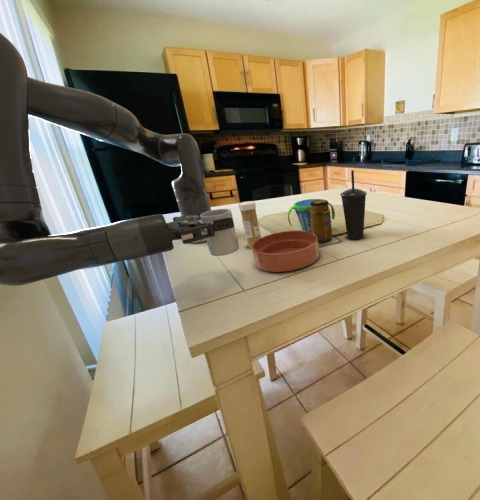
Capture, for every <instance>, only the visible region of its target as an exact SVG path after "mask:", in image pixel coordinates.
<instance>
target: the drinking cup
mask: <svg viewBox="0 0 480 500" xmlns="http://www.w3.org/2000/svg"><path fill="white" fill-rule="evenodd" d="M350 174H351V188H349V189H346V190H344V191H343V192H340V194H339V195H340V197H341V203H342V209H343V210H342V211H343V215H344V216H343V217H344V222H345V228H346V236H347V239H348V240H350V241H358V240H362V239H364V233H365V231H364V230H365V216H366V215H365V214H366V197H367V194H368V193H367V191H365V190H362V189H360V188H355V171H354V170H351V171H350Z"/></svg>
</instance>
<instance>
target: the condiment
mask: <svg viewBox="0 0 480 500" xmlns="http://www.w3.org/2000/svg"><path fill="white" fill-rule="evenodd" d="M328 202H329V200H327V199H323V200H314V201H312V202H311V211H310V217H311V227H312V233H314V234H315V235H316V236H317V237H318V245H319V247H322V246H327V245H332V244H335V243H339V242H340V240H339V239H338V238H336V237H334V236H332V235H333V230H332V227H333V226H332V220H331V219H332V214H331V210H330V205H329V204H328Z"/></svg>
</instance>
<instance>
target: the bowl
mask: <svg viewBox="0 0 480 500" xmlns="http://www.w3.org/2000/svg"><path fill="white" fill-rule="evenodd" d="M250 249H251V252H252V258H253V262H254V265H255V267H257V268H258V269H259V270H263V271H266V272H275V273H280V272H281V273H282V272H292V271H295V270H299V269H302V268H305V267H307V266H310V265H311V264H313V263H314V262H315V261H317V260H318V259H319V257H320V246H319V245H318V237H317V236H316V235H315V234H314V233H311V232H307V231H302V230H286V231H285V230H284V231H279V232H278V231H277V232H273V233H269V234H267V235H264V236H261V238H259V239H258V240H256V241H255V242H253V244H252V246H251V248H250Z"/></svg>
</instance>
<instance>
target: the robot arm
mask: <svg viewBox="0 0 480 500" xmlns="http://www.w3.org/2000/svg"><path fill="white" fill-rule="evenodd" d="M30 117H33V118H36V119H39V120H42V121H45V122H47V123H50V124H53V125H56V126H59V127H61V128H64V129H67V130H70V131H73V132H76V133H79V134H82V135H84V136H87V137H89V138H93V139H95V140H98V141H100V142H104V143H107V144H110V145H112V146H116V147H119V148H122V149H125V150H128V151H132V152H135V153H138V154H141V155H143V156H145V157H148V158H150V159H152V160H154V161H156V162H159V163H160V164H162V165H164V166H167V167H173V168H174V167H175V168H178V167H180V169H181V173H180V174H179V176H178V177H177V178H175V179H173V180H172V181H171V187H172V189H173V192H174V193H173V194H174V196H175V199H176V203H177V206H178V210H179V212H180V213H179V214H180V216H174V217H172V221H170V222H167V221H166V218H165V216H164V215H163V214H161V213H158V214H152V215H147V216H141V217H135V218H130V219H125V220H120V221H116V222H113V223H110V224H106V225H100V226H94V227H89V228H84V229H79V230H76V231H72V232H67V233H61V234H52V233H51V231H50V229H49V226H48V225H47V222H46V220H45V218H44V214H43V208H42V204H41V199H40V195H39V190H38V186H37V182H36V179H35V178H36V177H35V173H34V169H33V163H32V154H31V143H30V121H29V119H30ZM210 210H212V208H211V203H210V199H209V195H208V191H207V189H206V184H205V171H204V166H203V161H202V155H201V151H200V147H199V145H198V142H197V140H196V139H195V137H194V136H193V135H191V134H189V133H173V134H161V133H158V132H155V131H152V130H149V129H148V128H145V127H144V126H142V124H141V122H140V120H139V119H138V118H137V116H135V115H134V114H133V112H131V111H130V110H128V109H127V108H125V107H124V106H122V105H120V104H118V103H116V102H114V101H112V100H110V99H108V98H106V97H105V96H102V95H99V94H96V93H94V92H91V91H87V90H83V89H78V88H74V87H70V86H65V85H60V84H55V83H51V82H46V81H43V80H39V79H36V78H33V77H31V76H29V75H28V69H27V66H26V63H25V60H24V58H23V57H22V54H21V53H20V51H19V50H18V49H17V47H16V46H15V45H14V44H13V43H12V42H11V41H10V40H9V38H7V37H6V36H5V35H4V34H2V32H0V285H1V286H7V287H18V286H25V285H29V284H32V283H36V282H40V281H43V280H44V281H45V280H47V279H51V278H54V277H57V276H62V275H65V274H69V273H72V272H76V271H79V270H86V269H94V268H99V267H102V266H107V265H111V264H115V263H118V262H119V263H120V262H125V261H133V260H137V259H141V258H146V257H150V256H155V255H158V254H162V253H167V252H171V251H173V250H174V242H173V241H180V240H181V242H182V244H184V245H187V244H199V243H205V242H206V243H207V240H206V238H209V237H213V236H215V233H216V231H221V230H226V229H230V228H233V227H234V226H235V222H234V218H233V219H232V218H230V217H229V218H224V219H219V220H215V221H206V222H203V221H202V220H201V217H200V214H202V213H204V212H206V211H210ZM233 222H234V223H233ZM205 228H207V231H205V230H204V229H205Z"/></svg>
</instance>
